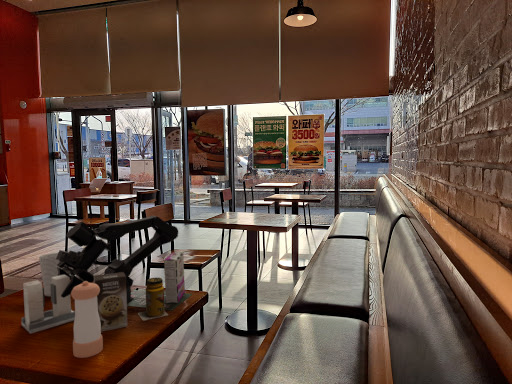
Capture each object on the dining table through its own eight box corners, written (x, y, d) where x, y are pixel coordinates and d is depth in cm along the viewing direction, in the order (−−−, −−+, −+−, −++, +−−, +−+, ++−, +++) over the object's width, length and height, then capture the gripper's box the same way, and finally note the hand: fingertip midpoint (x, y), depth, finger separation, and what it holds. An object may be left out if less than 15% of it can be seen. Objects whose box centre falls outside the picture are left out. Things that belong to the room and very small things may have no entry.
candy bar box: (172, 292, 142) (171, 252, 141) (185, 292, 142) (184, 252, 141) (164, 303, 130) (163, 259, 129) (178, 303, 130) (177, 259, 129)
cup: (47, 290, 146) (45, 253, 145) (69, 289, 147) (67, 252, 146) (36, 298, 137) (34, 258, 136) (60, 297, 138) (58, 257, 137)
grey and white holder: (70, 311, 124) (68, 272, 123) (80, 318, 118) (78, 277, 117) (21, 325, 113) (19, 282, 112) (30, 333, 107) (27, 288, 106)
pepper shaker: (97, 357, 93) (94, 285, 92) (68, 358, 93) (65, 286, 91) (106, 343, 100) (104, 277, 99) (79, 345, 100) (76, 277, 99)
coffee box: (96, 333, 107) (94, 280, 106) (95, 325, 113) (92, 275, 112) (128, 326, 111) (126, 276, 110) (125, 319, 117) (123, 270, 116)
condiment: (168, 315, 120) (167, 280, 119) (143, 321, 115) (142, 285, 114) (161, 308, 126) (160, 275, 125) (137, 313, 121) (136, 279, 121)
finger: (66, 312, 121) (64, 274, 120) (71, 315, 118) (69, 277, 117) (51, 316, 118) (49, 277, 117) (56, 320, 114) (54, 280, 114)
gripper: (61, 237, 126) (27, 275, 118) (83, 244, 113) (46, 287, 106) (85, 255, 132) (54, 292, 125) (108, 263, 119) (75, 305, 112)
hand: (57, 293), depth 117 cm, fingers open, 9 cm apart
